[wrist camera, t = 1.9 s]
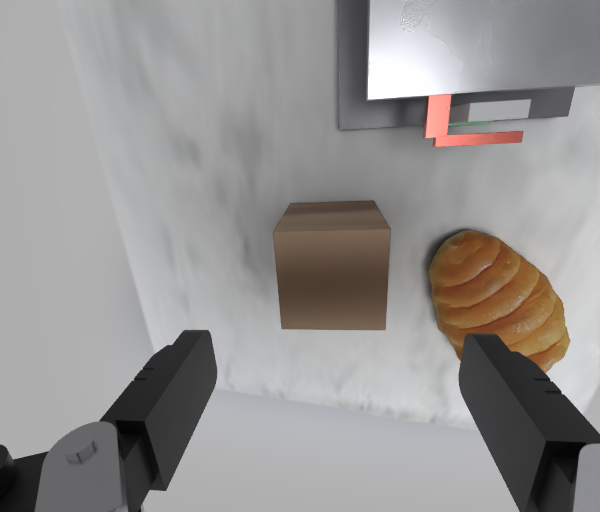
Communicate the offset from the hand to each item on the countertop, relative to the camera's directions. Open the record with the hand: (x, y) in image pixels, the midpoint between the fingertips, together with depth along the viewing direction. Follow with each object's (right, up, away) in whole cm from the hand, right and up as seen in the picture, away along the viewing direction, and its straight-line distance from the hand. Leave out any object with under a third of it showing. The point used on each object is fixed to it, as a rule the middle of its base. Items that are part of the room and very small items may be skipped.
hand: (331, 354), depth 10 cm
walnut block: (+1, +4, +10) cm, 11 cm away
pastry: (+11, 0, +11) cm, 15 cm away
